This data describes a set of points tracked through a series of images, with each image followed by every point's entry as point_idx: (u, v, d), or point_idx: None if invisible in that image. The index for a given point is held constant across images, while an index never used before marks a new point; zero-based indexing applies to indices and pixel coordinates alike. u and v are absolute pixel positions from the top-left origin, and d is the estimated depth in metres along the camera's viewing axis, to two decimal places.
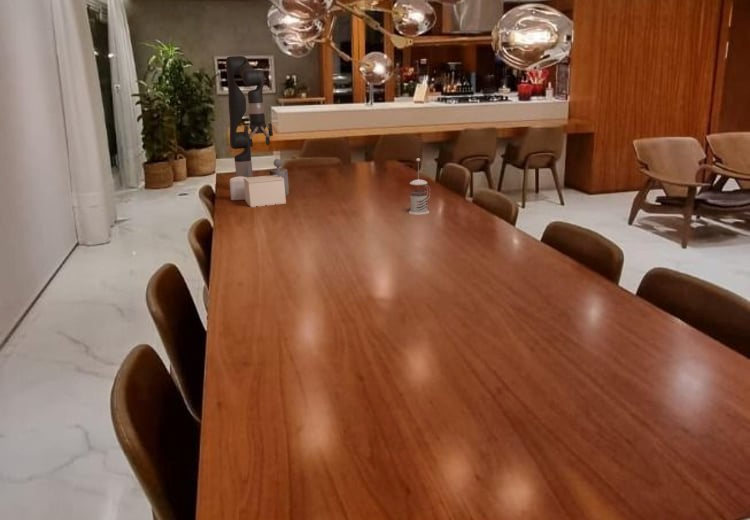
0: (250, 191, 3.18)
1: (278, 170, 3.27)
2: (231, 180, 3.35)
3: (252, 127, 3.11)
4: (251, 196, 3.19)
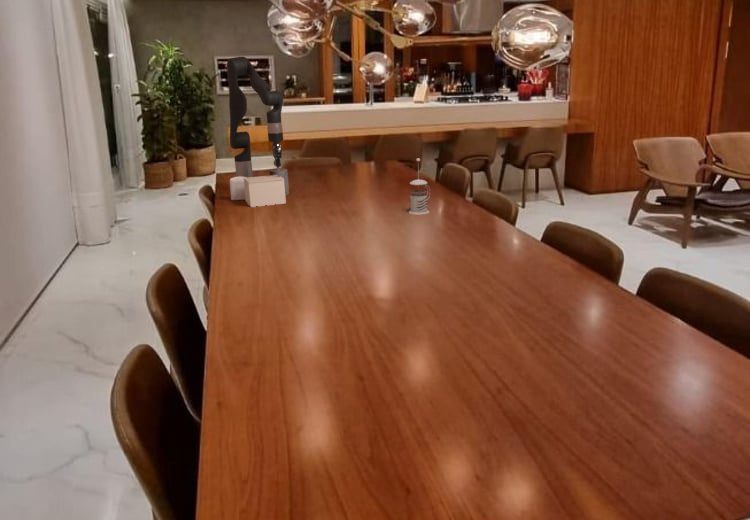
0: (250, 191, 3.18)
1: (278, 170, 3.27)
2: (231, 180, 3.35)
3: (280, 148, 3.21)
4: (251, 196, 3.19)
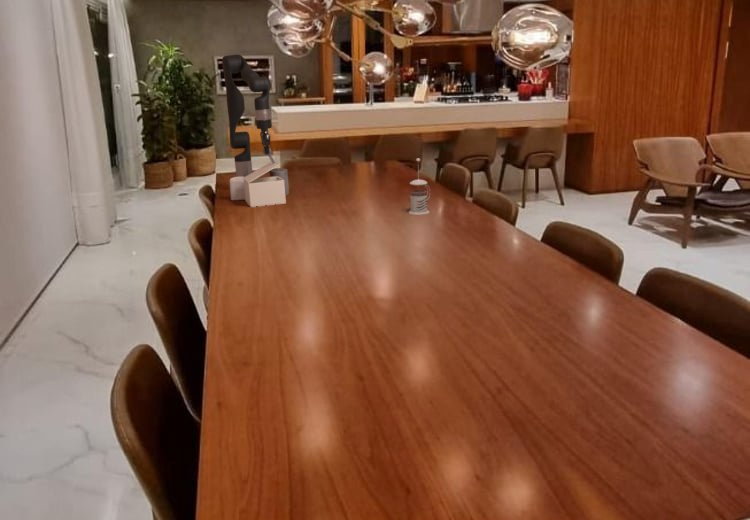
0: (250, 191, 3.18)
1: (270, 157, 3.24)
2: (231, 180, 3.35)
3: (268, 135, 3.18)
4: (251, 196, 3.19)
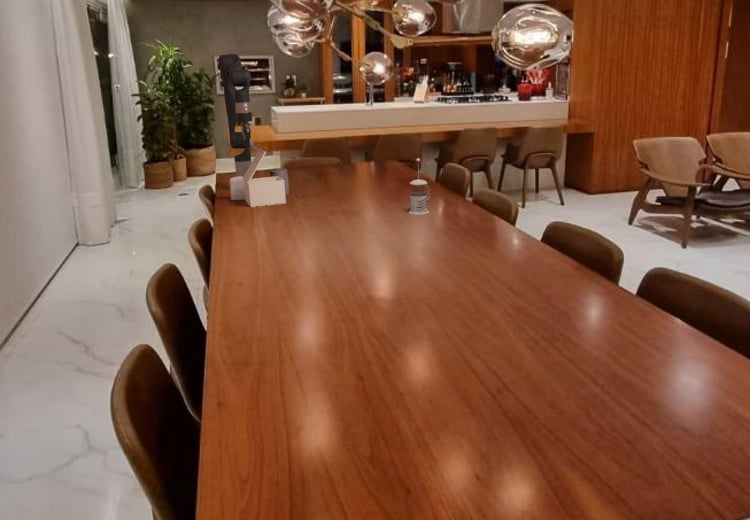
0: (250, 191, 3.18)
1: (255, 148, 3.20)
2: (231, 180, 3.35)
3: None
4: (251, 196, 3.19)
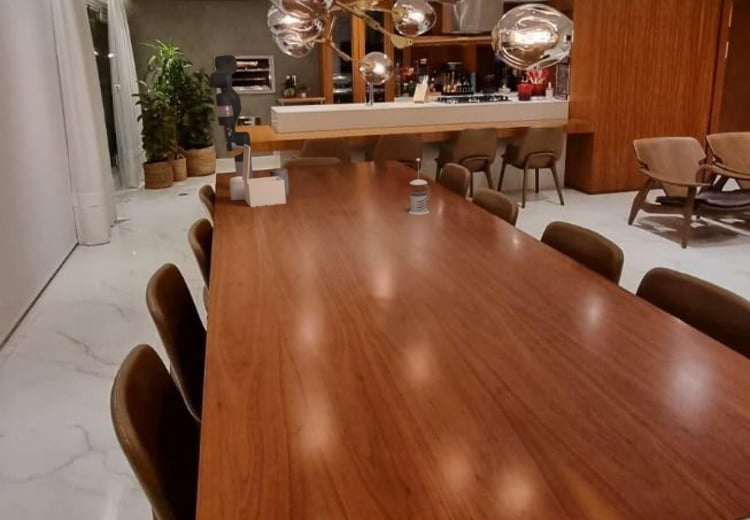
0: (250, 191, 3.18)
1: (240, 147, 3.17)
2: (231, 180, 3.35)
3: (230, 132, 3.11)
4: (251, 196, 3.19)
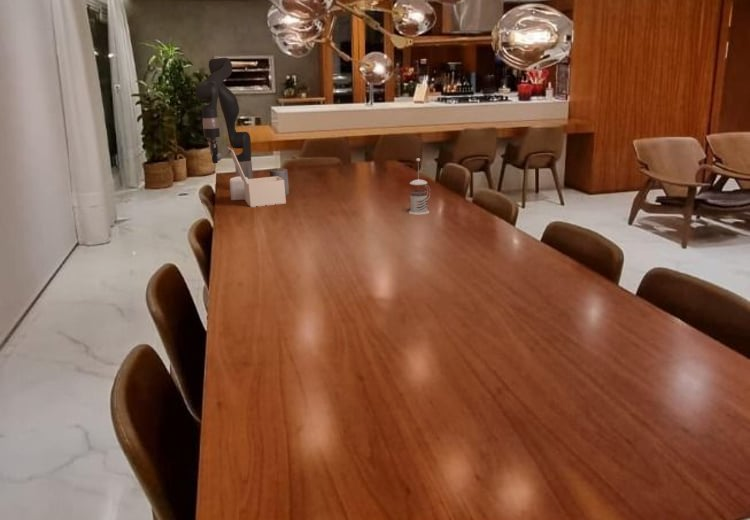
0: (250, 191, 3.18)
1: (224, 153, 3.15)
2: (231, 180, 3.35)
3: (216, 144, 3.10)
4: (251, 196, 3.19)
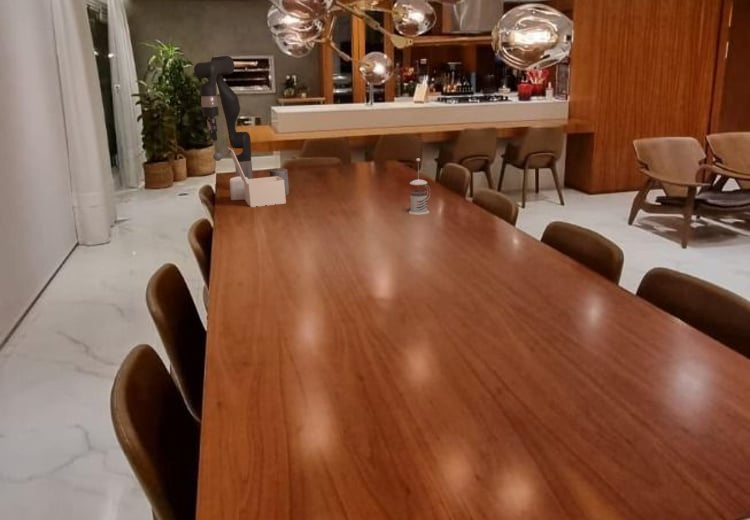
0: (250, 191, 3.18)
1: (224, 153, 3.15)
2: (231, 180, 3.35)
3: None
4: (251, 196, 3.19)
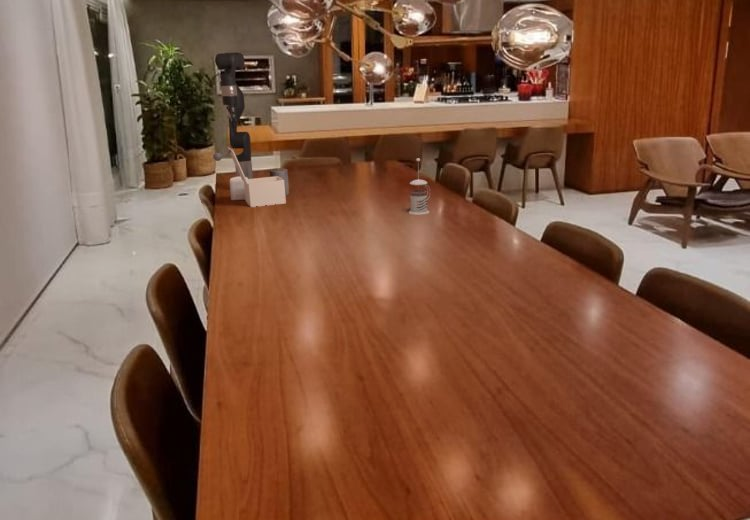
0: (250, 191, 3.18)
1: (224, 153, 3.15)
2: (231, 180, 3.35)
3: None
4: (251, 196, 3.19)
